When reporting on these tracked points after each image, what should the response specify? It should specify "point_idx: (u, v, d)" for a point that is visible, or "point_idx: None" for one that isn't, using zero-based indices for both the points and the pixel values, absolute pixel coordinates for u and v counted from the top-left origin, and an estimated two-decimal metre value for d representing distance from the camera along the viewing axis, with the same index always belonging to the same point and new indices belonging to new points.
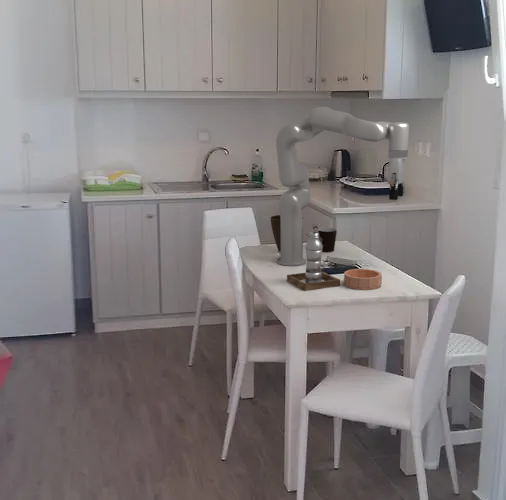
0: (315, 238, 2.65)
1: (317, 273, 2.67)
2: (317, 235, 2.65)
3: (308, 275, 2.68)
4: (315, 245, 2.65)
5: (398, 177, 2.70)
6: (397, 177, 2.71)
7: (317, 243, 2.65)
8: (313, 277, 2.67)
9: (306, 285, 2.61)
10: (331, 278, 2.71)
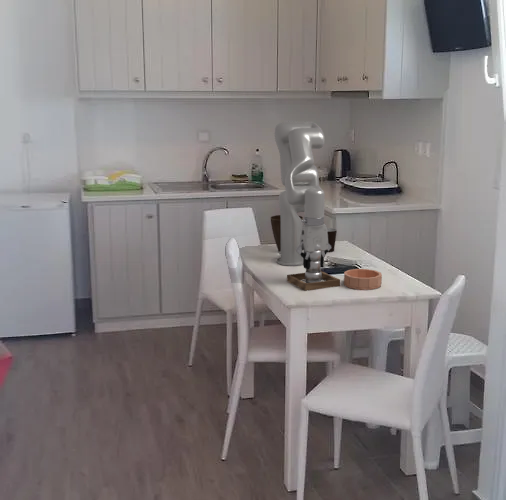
0: None
1: (317, 273, 2.67)
2: None
3: (308, 275, 2.68)
4: None
5: None
6: None
7: None
8: (313, 277, 2.67)
9: (306, 285, 2.61)
10: (331, 278, 2.71)
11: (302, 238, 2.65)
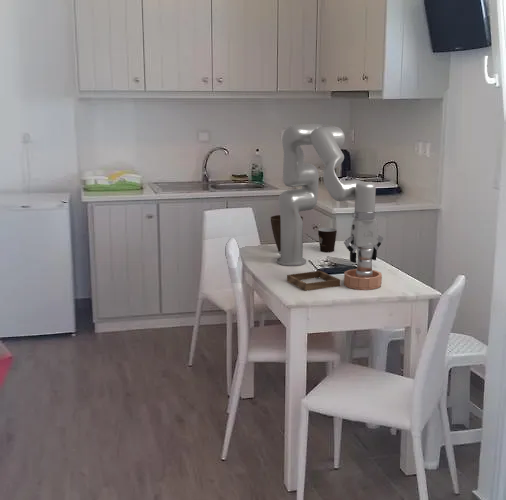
0: None
1: (369, 272, 2.65)
2: None
3: (359, 273, 2.66)
4: None
5: None
6: None
7: None
8: (364, 276, 2.65)
9: (306, 285, 2.61)
10: (331, 278, 2.71)
11: (352, 233, 2.62)
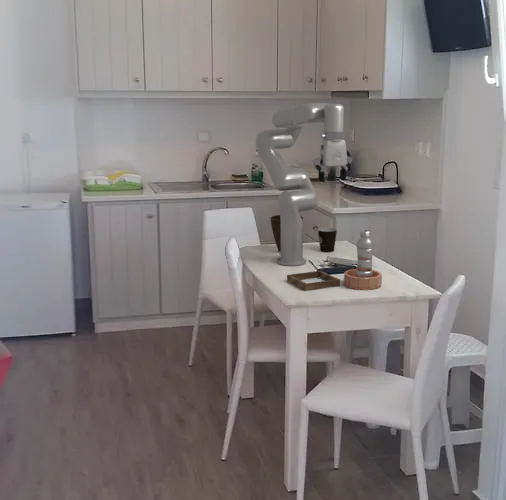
0: (366, 236, 2.63)
1: (369, 272, 2.65)
2: (369, 233, 2.63)
3: (359, 273, 2.66)
4: (366, 243, 2.62)
5: None
6: None
7: (369, 241, 2.63)
8: (364, 276, 2.65)
9: (306, 285, 2.61)
10: (331, 278, 2.71)
11: (321, 153, 2.69)
